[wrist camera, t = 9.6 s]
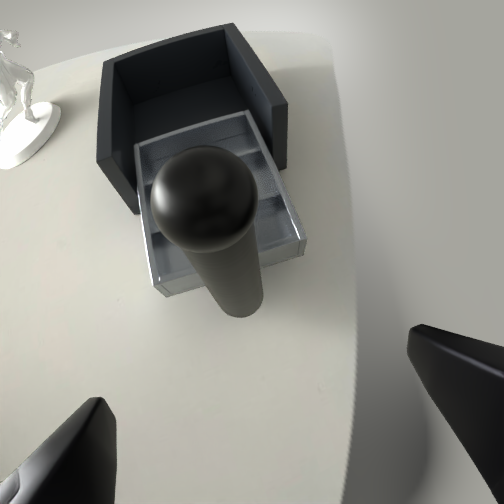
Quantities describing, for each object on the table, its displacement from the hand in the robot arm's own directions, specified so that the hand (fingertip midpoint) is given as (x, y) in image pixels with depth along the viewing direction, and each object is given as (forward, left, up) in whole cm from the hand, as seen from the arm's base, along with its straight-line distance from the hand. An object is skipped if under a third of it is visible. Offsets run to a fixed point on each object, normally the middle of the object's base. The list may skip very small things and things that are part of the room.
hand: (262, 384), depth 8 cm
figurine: (+29, +18, -9) cm, 35 cm away
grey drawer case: (+19, 0, -9) cm, 21 cm away
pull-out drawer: (+10, 0, -8) cm, 12 cm away
